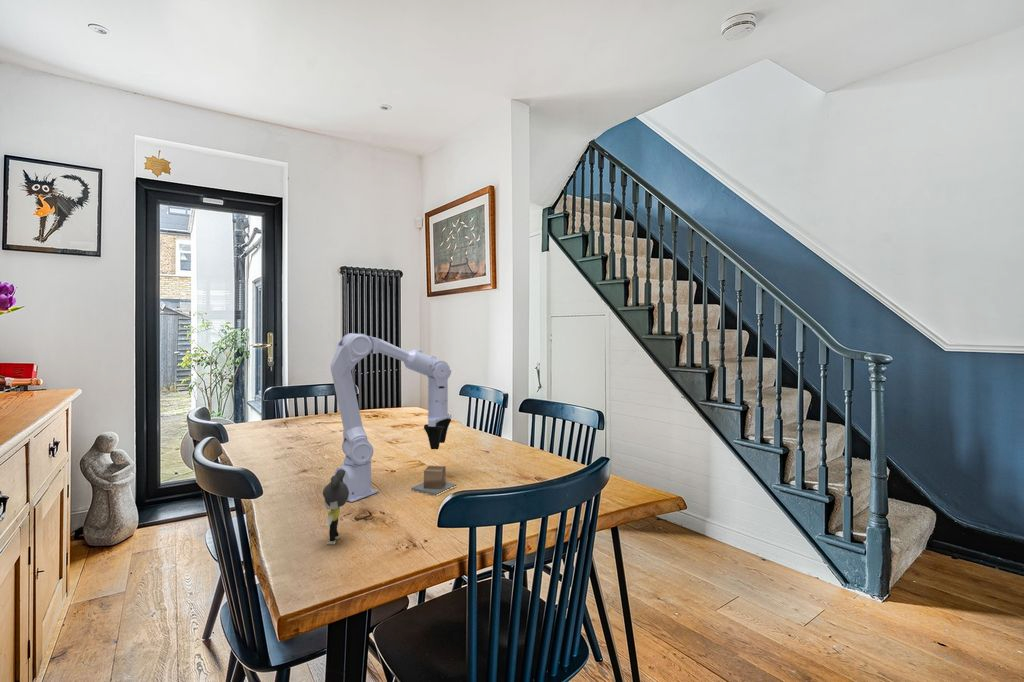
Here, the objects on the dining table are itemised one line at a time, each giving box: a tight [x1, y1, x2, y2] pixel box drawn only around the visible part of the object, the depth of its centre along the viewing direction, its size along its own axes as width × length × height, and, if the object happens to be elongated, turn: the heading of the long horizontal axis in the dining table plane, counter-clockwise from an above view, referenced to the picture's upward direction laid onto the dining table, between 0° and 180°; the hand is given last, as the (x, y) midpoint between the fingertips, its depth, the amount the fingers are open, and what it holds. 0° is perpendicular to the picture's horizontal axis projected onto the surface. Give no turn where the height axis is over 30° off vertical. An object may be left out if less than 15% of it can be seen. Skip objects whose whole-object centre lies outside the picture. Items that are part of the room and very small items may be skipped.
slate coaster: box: [411, 481, 458, 496], centre depth 142 cm, size 9×9×1 cm
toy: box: [322, 469, 349, 545], centre depth 108 cm, size 8×5×15 cm, turn 4°
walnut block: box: [423, 465, 447, 489], centre depth 142 cm, size 5×5×5 cm
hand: (437, 445), depth 149 cm, fingers open, 7 cm apart
